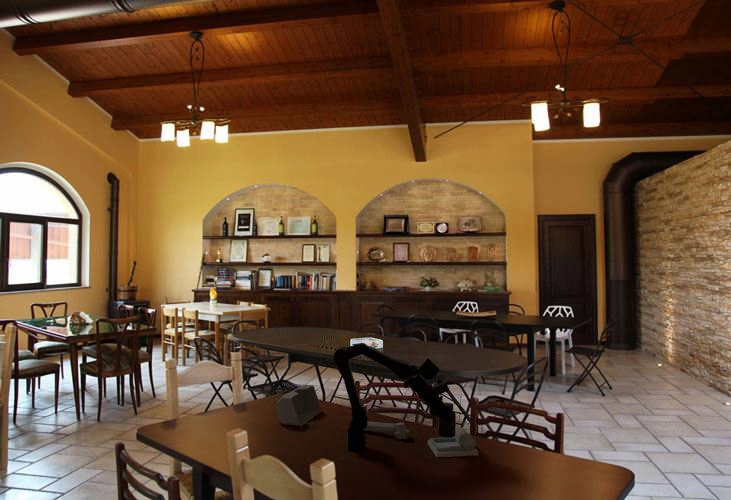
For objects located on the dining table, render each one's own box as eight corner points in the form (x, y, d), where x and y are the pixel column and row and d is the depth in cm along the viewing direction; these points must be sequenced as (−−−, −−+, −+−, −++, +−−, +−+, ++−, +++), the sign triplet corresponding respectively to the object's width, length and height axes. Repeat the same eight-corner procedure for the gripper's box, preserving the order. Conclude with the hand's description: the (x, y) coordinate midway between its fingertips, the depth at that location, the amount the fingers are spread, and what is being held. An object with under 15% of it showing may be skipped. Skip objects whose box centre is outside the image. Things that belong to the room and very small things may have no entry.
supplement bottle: (434, 434, 200) (434, 403, 201) (447, 431, 204) (447, 400, 204) (445, 439, 195) (446, 407, 195) (459, 436, 198) (459, 404, 199)
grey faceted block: (292, 408, 255) (292, 382, 255) (322, 411, 250) (322, 385, 250) (267, 423, 231) (267, 395, 231) (300, 427, 226) (300, 398, 226)
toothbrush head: (357, 419, 226) (409, 419, 214) (359, 434, 225) (411, 436, 213) (351, 422, 221) (403, 423, 209) (352, 438, 220) (405, 439, 209)
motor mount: (436, 457, 192) (436, 439, 192) (427, 443, 206) (427, 427, 206) (478, 455, 194) (478, 437, 194) (466, 442, 208) (466, 426, 208)
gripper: (439, 379, 191) (468, 410, 190) (435, 369, 209) (462, 397, 208) (417, 400, 191) (447, 431, 190) (415, 387, 210) (442, 416, 209)
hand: (450, 418), depth 199 cm, fingers closed on supplement bottle, 7 cm apart
